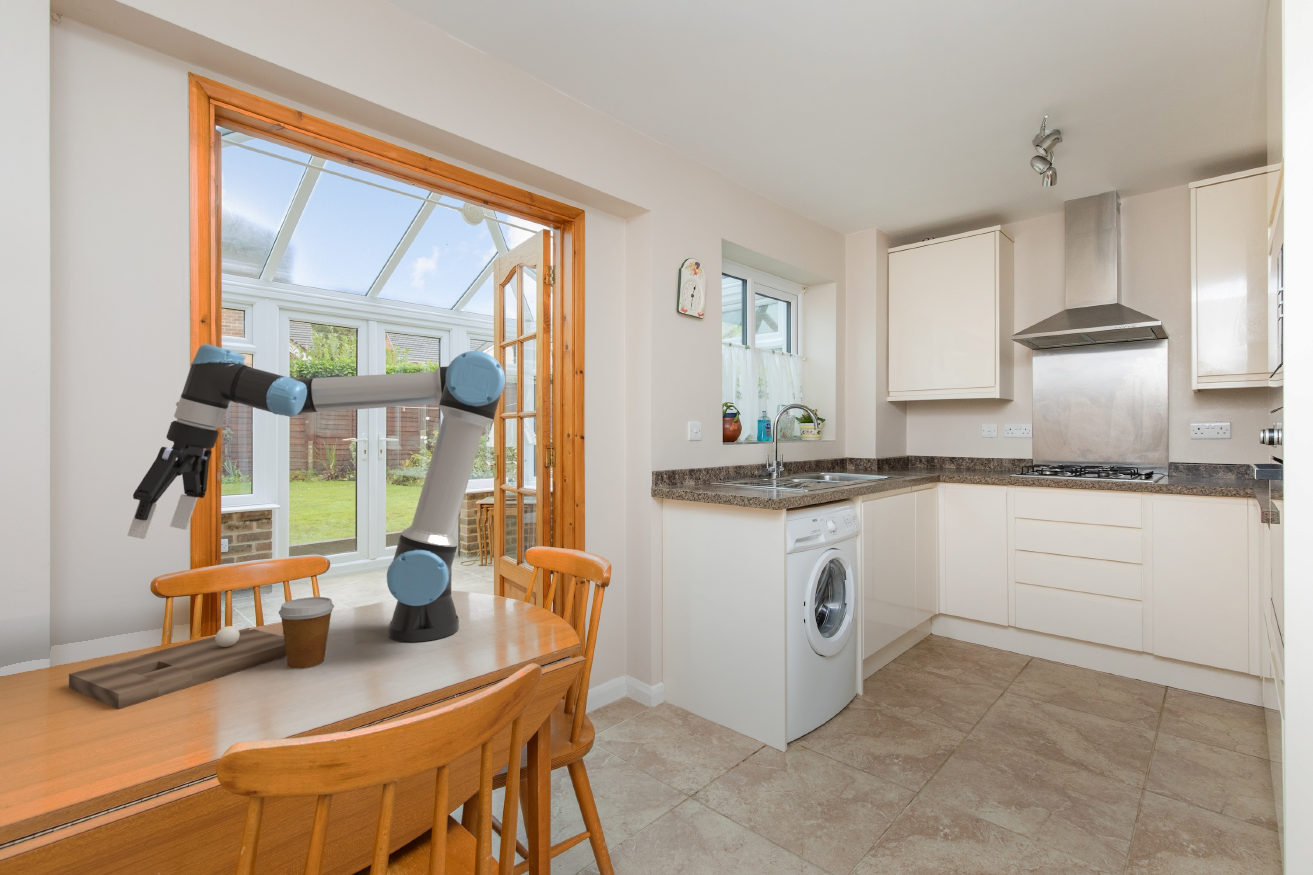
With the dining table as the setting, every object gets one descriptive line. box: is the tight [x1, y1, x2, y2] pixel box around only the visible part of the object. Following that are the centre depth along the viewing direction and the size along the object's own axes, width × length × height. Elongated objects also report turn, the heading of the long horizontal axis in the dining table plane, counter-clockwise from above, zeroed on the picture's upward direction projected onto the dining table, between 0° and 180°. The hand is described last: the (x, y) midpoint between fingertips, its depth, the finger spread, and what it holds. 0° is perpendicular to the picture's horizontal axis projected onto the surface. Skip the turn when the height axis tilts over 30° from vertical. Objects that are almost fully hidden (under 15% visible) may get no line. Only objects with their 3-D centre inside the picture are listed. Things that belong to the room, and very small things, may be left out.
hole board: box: [68, 627, 287, 710], centre depth 115 cm, size 18×30×2 cm, turn 153°
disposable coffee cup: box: [278, 596, 335, 669], centre depth 119 cm, size 10×10×12 cm
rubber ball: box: [214, 625, 240, 647], centre depth 121 cm, size 4×4×4 cm
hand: (158, 532), depth 113 cm, fingers open, 13 cm apart
